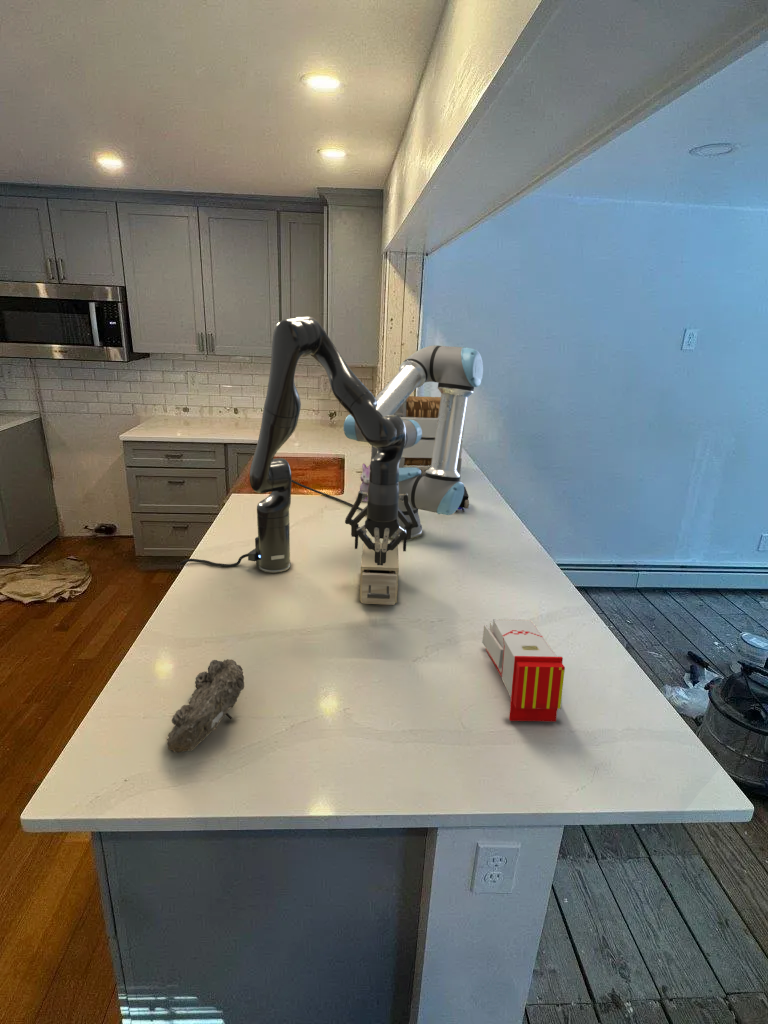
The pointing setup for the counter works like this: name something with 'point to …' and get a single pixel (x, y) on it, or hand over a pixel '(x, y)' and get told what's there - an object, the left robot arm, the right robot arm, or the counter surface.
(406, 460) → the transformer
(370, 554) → the cabinet
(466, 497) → the figurine character
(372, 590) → the drawer
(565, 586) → the counter surface
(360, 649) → the counter surface
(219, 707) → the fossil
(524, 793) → the counter surface
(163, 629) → the counter surface
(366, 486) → the figurine
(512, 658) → the toy
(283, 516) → the left robot arm
